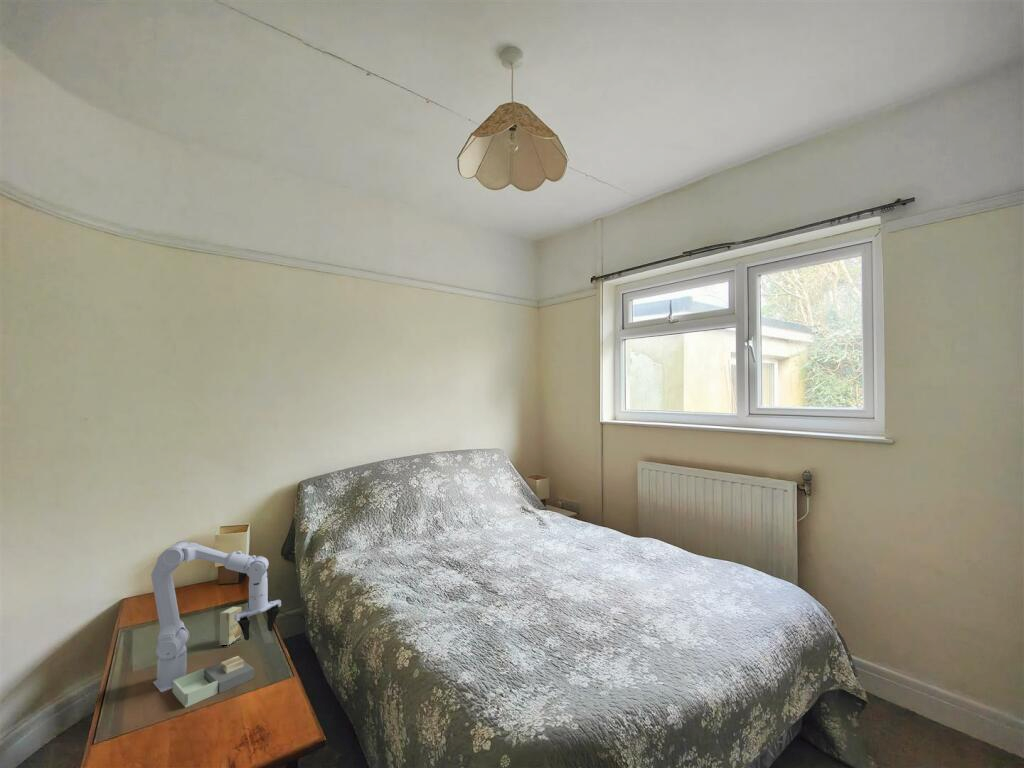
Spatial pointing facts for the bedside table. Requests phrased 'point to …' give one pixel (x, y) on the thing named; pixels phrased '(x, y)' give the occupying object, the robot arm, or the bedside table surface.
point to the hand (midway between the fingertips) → (258, 634)
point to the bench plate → (228, 676)
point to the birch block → (232, 664)
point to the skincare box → (229, 626)
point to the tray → (193, 688)
